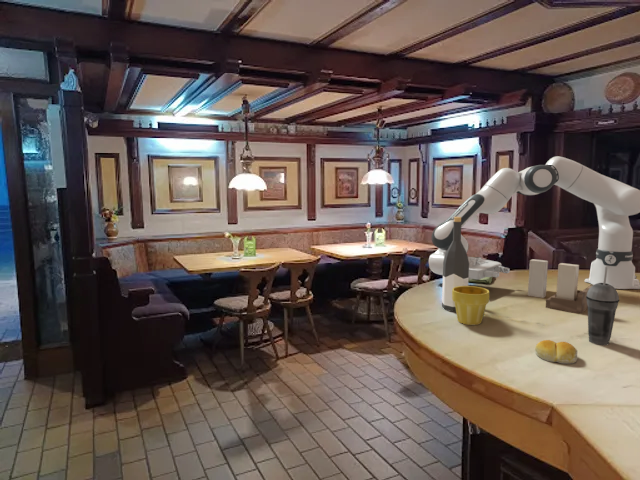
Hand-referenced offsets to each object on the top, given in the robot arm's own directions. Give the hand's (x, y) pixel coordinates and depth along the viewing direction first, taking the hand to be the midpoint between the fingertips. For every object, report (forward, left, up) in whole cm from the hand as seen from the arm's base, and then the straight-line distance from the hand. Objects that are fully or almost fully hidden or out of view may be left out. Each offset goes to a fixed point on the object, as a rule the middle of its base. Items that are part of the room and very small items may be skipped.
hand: (503, 272), depth 164 cm
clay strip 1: (0, +12, -8) cm, 14 cm away
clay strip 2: (+10, +24, -7) cm, 27 cm away
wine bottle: (+29, -4, -8) cm, 30 cm away
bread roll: (+50, +33, -8) cm, 61 cm away
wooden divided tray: (+5, +24, -8) cm, 26 cm away
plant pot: (+39, +6, -8) cm, 40 cm away
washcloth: (-18, -18, -9) cm, 27 cm away
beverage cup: (+32, +38, -8) cm, 50 cm away
